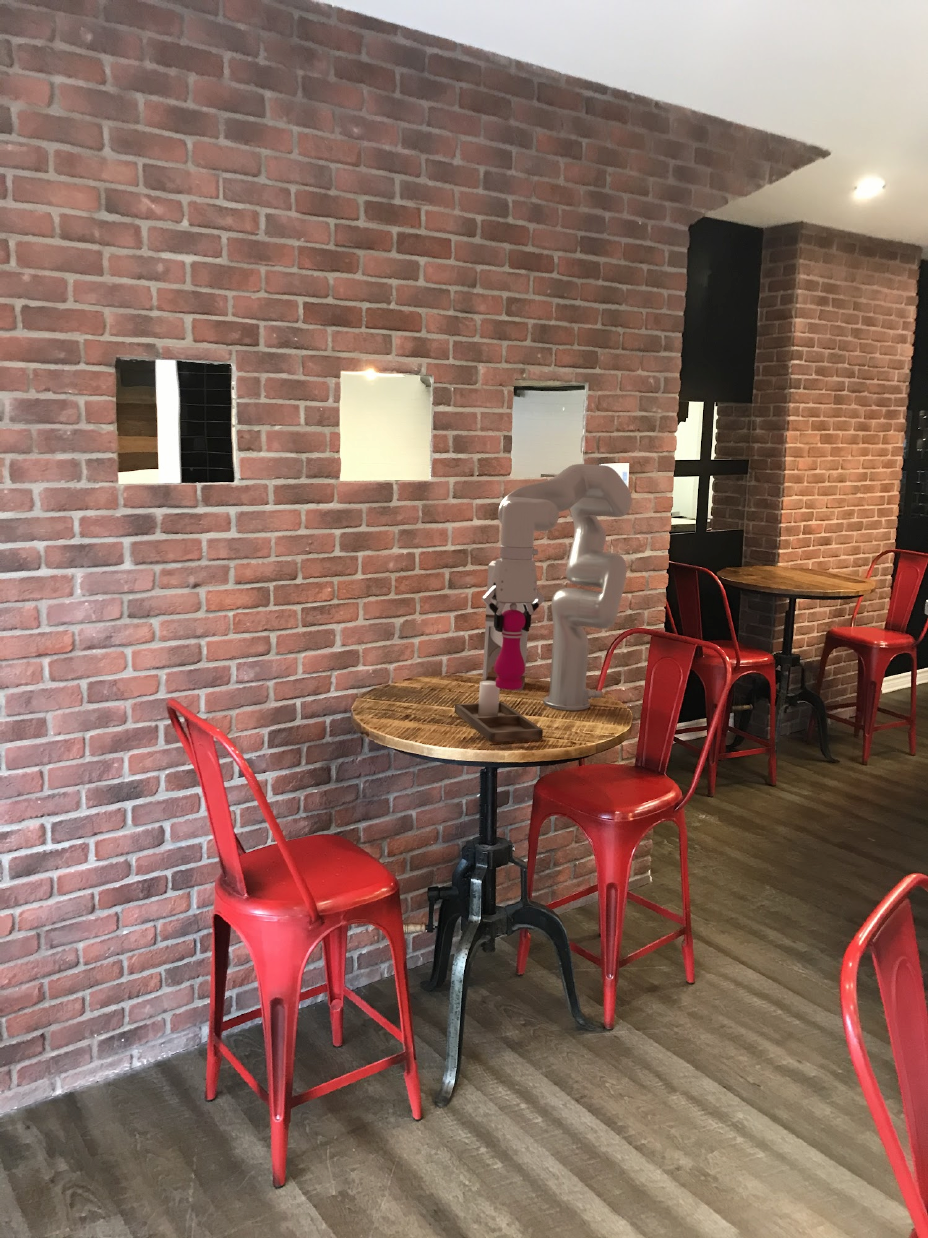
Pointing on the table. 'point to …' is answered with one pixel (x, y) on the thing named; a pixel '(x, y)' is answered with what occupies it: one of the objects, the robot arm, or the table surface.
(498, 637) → the spiral ramp tower
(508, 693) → the table surface
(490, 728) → the walnut cruet tray
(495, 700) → the salt shaker
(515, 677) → the pepper mill
